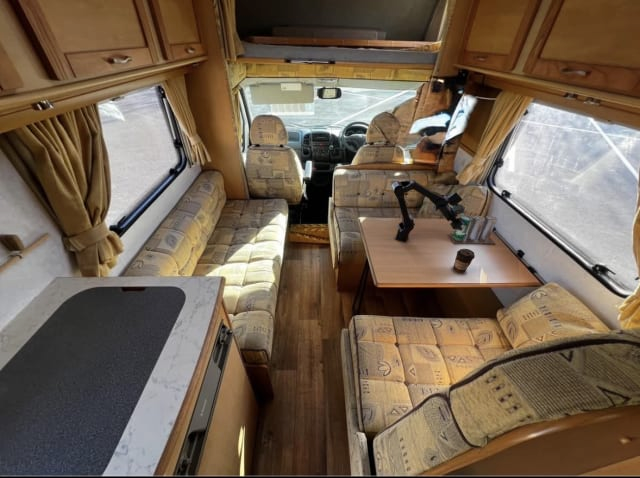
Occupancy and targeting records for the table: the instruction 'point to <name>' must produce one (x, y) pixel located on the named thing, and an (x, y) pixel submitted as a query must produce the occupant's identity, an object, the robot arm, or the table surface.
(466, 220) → the can
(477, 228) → the cans
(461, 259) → the coffee cup
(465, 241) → the dark grey flat slab
